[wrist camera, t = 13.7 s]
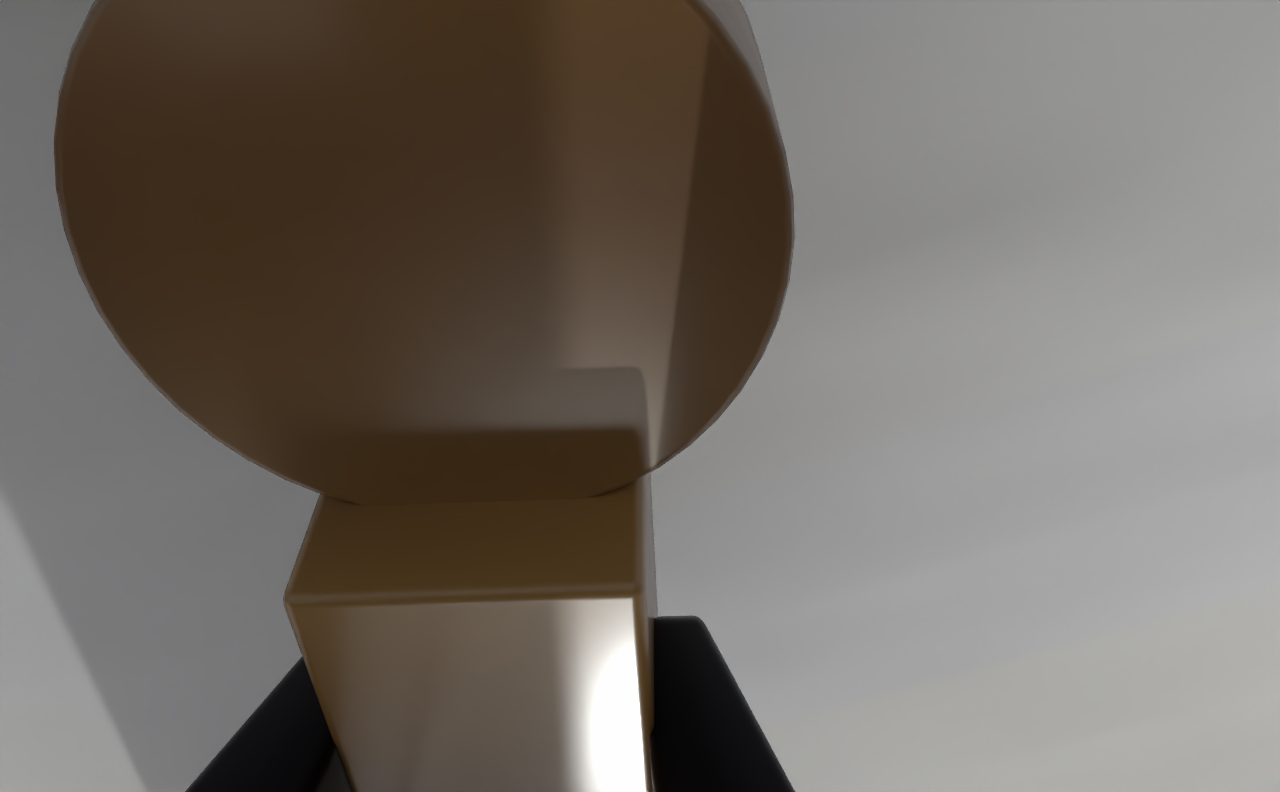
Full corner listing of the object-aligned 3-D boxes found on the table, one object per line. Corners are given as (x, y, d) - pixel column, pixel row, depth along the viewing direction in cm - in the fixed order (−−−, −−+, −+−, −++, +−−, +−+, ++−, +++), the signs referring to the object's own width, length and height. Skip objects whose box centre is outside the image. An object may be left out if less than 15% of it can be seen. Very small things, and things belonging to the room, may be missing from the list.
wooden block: (749, 798, 12) (769, 1033, 10) (389, 808, 12) (341, 1041, 10) (777, -215, 6) (841, -124, 4) (65, -179, 6) (-209, -73, 4)
